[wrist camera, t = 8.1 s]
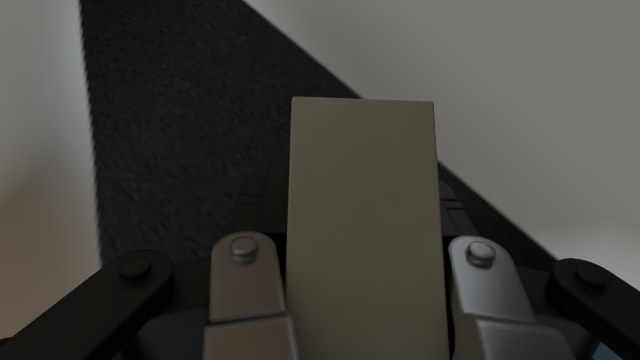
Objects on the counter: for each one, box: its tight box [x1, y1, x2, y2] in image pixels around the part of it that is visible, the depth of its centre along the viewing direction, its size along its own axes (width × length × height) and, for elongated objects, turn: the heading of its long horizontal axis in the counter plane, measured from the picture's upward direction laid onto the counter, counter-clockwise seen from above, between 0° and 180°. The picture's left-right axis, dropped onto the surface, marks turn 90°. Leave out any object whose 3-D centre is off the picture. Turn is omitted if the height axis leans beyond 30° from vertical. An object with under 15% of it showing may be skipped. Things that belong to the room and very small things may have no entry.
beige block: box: [285, 97, 450, 360], centre depth 12 cm, size 3×6×9 cm, turn 179°
